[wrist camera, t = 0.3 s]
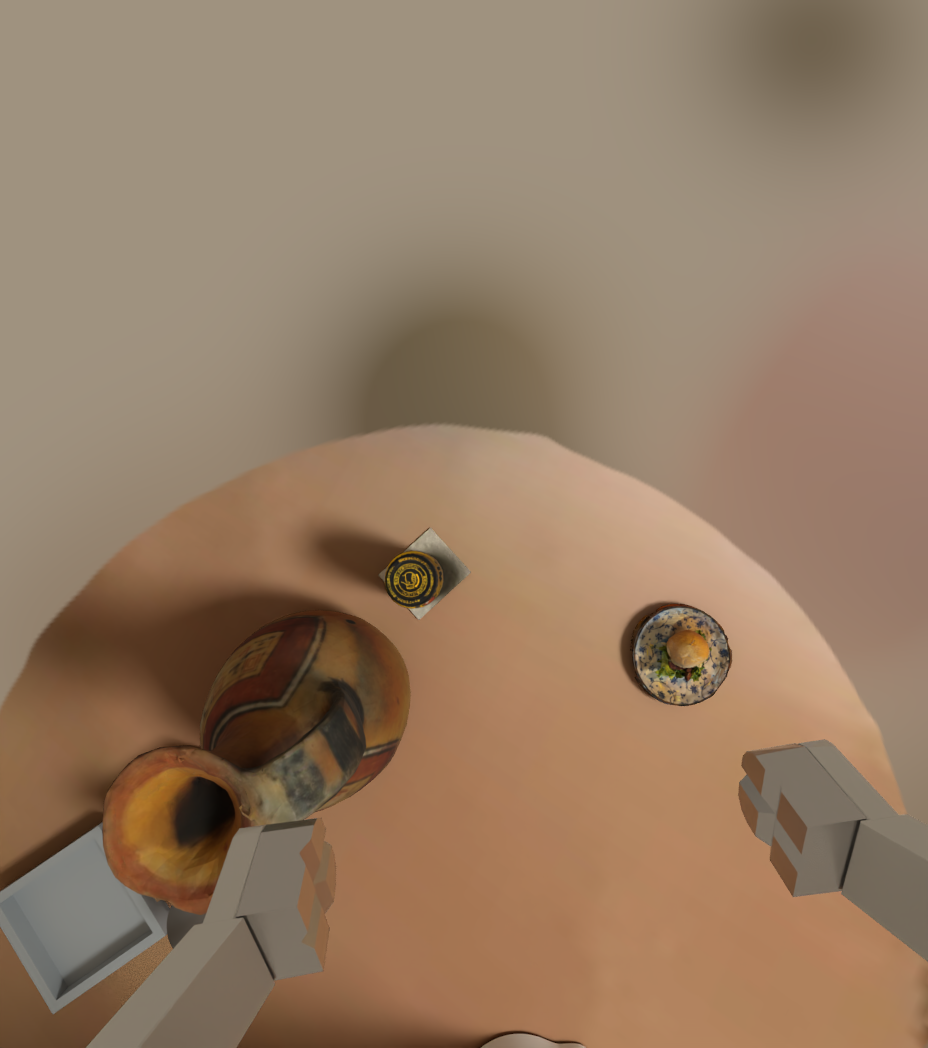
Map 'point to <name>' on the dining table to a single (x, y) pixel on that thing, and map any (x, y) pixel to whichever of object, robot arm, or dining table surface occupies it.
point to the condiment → (423, 574)
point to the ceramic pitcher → (259, 752)
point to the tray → (77, 920)
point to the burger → (680, 655)
